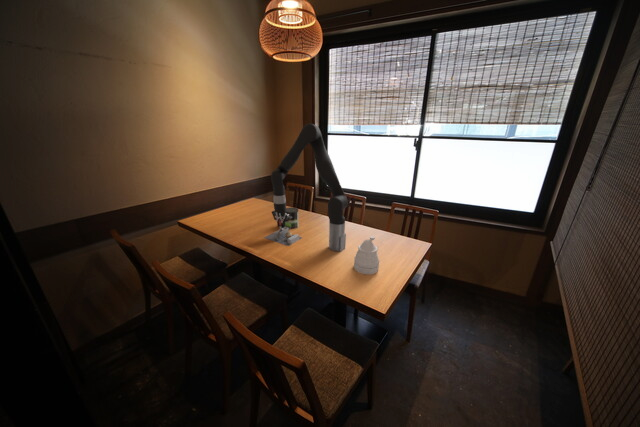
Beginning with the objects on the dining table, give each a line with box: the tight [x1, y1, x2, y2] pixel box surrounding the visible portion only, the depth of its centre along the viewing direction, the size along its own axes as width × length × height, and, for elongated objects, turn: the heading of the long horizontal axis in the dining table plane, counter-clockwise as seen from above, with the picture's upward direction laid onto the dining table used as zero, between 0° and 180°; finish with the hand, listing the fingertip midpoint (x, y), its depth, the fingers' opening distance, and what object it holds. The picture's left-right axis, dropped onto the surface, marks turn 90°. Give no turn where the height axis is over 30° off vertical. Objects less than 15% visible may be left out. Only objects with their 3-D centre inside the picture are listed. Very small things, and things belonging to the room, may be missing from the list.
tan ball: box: [286, 231, 293, 238], centre depth 158 cm, size 4×4×4 cm
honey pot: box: [353, 235, 380, 275], centre depth 129 cm, size 13×13×18 cm
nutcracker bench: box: [263, 232, 302, 247], centre depth 162 cm, size 21×14×4 cm, turn 56°
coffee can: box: [285, 206, 300, 230], centre depth 178 cm, size 10×10×14 cm
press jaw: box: [273, 219, 290, 241], centre depth 160 cm, size 3×11×12 cm, turn 146°
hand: (281, 227), depth 160 cm, fingers closed on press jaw, 2 cm apart
